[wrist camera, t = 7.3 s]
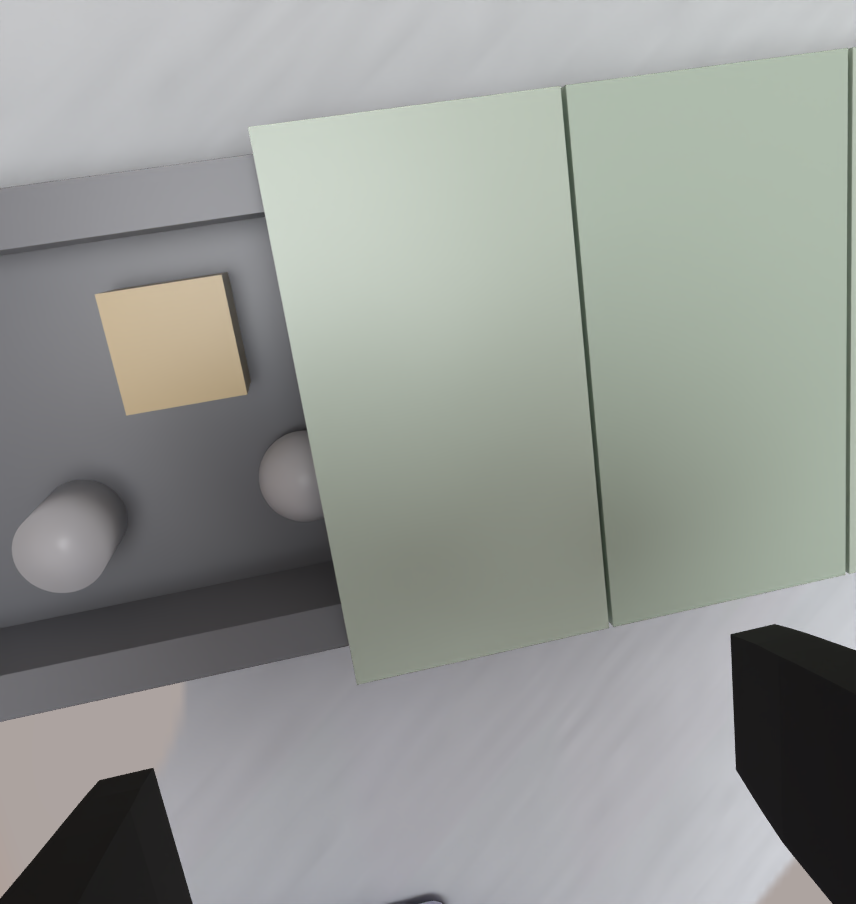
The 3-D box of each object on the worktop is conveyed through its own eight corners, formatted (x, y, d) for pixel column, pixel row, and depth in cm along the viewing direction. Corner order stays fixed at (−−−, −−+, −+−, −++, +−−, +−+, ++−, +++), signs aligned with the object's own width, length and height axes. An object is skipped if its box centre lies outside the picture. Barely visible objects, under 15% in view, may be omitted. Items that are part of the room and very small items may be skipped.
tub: (576, 537, 20) (623, 585, 18) (-70, 672, 18) (-135, 751, 16) (535, 131, 18) (583, 109, 15) (-230, 237, 16) (-345, 235, 13)
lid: (1031, 514, 19) (1211, 578, 15) (354, 664, 17) (371, 782, 13) (1068, 25, 16) (1303, -42, 12) (249, 133, 14) (236, 93, 10)
